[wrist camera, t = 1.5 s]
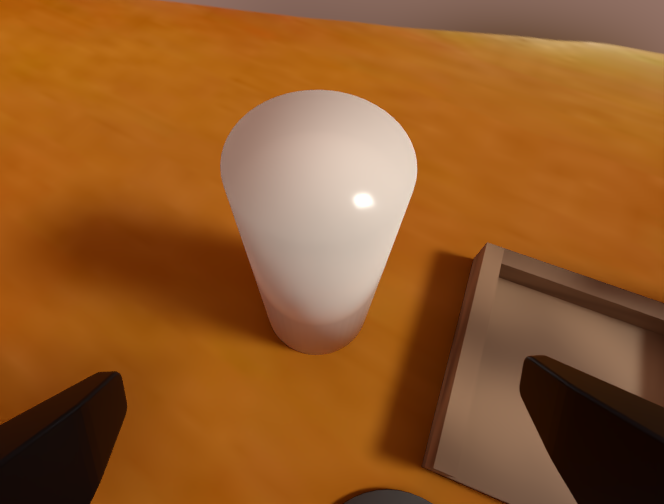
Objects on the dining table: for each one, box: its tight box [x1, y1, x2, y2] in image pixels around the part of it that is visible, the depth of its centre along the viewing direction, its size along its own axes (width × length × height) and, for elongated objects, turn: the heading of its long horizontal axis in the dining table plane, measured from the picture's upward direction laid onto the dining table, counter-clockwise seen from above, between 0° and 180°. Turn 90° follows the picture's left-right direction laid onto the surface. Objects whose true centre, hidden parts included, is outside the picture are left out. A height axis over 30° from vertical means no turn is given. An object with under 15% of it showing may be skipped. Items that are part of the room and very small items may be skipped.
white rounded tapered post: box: [220, 90, 417, 355], centre depth 17 cm, size 6×6×12 cm
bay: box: [422, 243, 664, 504], centre depth 20 cm, size 12×12×2 cm
